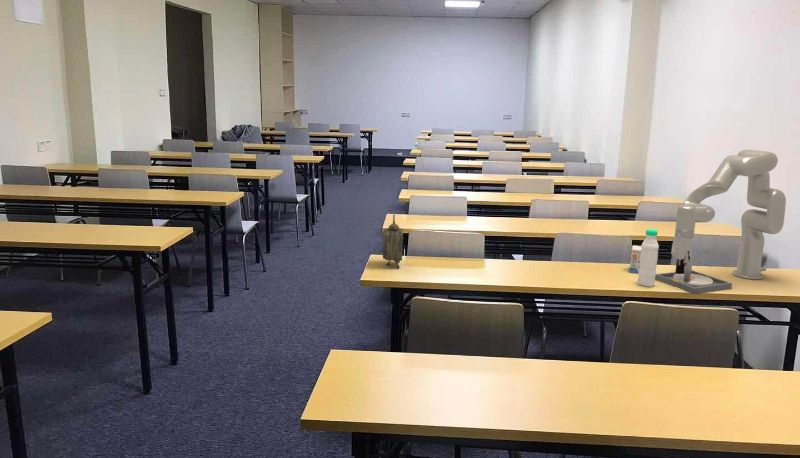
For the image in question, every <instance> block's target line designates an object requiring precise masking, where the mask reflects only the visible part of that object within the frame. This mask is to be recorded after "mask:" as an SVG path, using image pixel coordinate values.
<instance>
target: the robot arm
mask: <svg viewBox="0 0 800 458" xmlns="http://www.w3.org/2000/svg"><path fill="white" fill-rule="evenodd" d="M778 160H779V159H778V156H777V155H776V153H773V152H772V151H766V150H765V151H762V150H756V149H755V150H753V149H743V150H740V151H739V152H738V153H737V155H735V154H734V155H733V154H732V155H728V156H726V157H725V158H724V159H723V160H722V162H721V163H720V165H719V166H718V168H716V170H715V172H714V173H713V175H712V176H711V177H710V179H709V180H708V181H707V182H705V183H703V184H701V185H700V186H698V187H697V188H696V189H694V190H692V192H691V193H690V194H688V196H687V198H686V199H685V200H684V202H683V204H680V205H678V207H677V209H676V210H677V211H676V220H675V221H676V222H675V230H674V235H673V241H672V244H671V251H670V254H671V256H672V257H674V258H675V270H674V271H675V273H677V274H684V271H685V265H686V263H687V262H688V261H691V259H692V255H693V238H694V236H695V227H696V223H697V222H698V223H708V222H711V221H712V220H713V219H714V218H715V216H716V211H715V209H714V208H713V207H712V206H710V205H707V204H704V203H703V204H702V202H703V201H704V200H705V199H708V198H711V197H714V196H718V195H721V194H724V193H726V192H728V191H729V189H730V188H731V187H732V184H733V183H734V182H735V180H736V179H737V178H738V176H742V177H747V181H748V182H747V190H746V191H747V192H746V202H747V204H748V206H751V207H754V209H753V208H750V209H747V210H745V211H744V212H743V213H742V214H741V218H740V219H741V220H740V222H741V223H740V224H741V237H740V243H739V250H738V257H737V258H738V259H737V263H736V269H734V270H732V275H733V276H735V277H738V278H741V279H745V280H761V279H763V278H764V275H763V274H762V272H766V271H767V267H766V266H762V262H763V255H764V254H763V253H764V247H765V236H764V234H767V235H777V234H779V233H780V232H781V231H782V229H783V227H784V224H785V216H786V215H785V214H786V205H787V199H786V194H785V193H784V192H783V191H782V190H780V189H778V188H771V187H770V183H771V182H770V181H771V180H770V179H771V177H770V176H771V175H770V172H771V171H773V170H775V168H776V167H777V165H778V162H779V161H778ZM755 208H759V209H755ZM761 209H764V210H761ZM765 210H766V211H765Z"/></svg>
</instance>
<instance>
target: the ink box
mask: <svg viewBox="0 0 800 458" xmlns="http://www.w3.org/2000/svg"><path fill="white" fill-rule="evenodd" d="M641 249H642V247H641V245H632V246H631V250H630V251H631V252H630V253H631V254H630V259H629V260H630V262H629V270H628V271H629V273H632V274H639V269H640V255H641Z"/></svg>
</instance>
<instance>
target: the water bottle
mask: <svg viewBox="0 0 800 458" xmlns="http://www.w3.org/2000/svg"><path fill="white" fill-rule="evenodd" d="M645 236H646V237H645V238H644V240H643V242H642V244H641V245H640V246H641V247H642V249H641V255H640V269H639V273H638V276H637V284H638V285H639V286H641V287H645V288H650V287H651V288H652V287H655V284H656V280H655V276H656V274H657V265H658V259H659V247H660V245H659V242H658V240H657V236H658V230H657V229H653V228H647V229H645Z"/></svg>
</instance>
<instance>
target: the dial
mask: <svg viewBox="0 0 800 458" xmlns="http://www.w3.org/2000/svg"><path fill="white" fill-rule="evenodd" d="M692 269H693V261H692V260H688V262H687V263H686V265H685V270H684V271H685V273H684V274H675V275H673V279H674V280H677V281H680V282H681V283H684V284H687V285H690V286H697V287H700V286H708V285H712V284H713V280H712V279H711V278H709V277H706V276H702V275H698V274H691V270H692Z"/></svg>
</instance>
